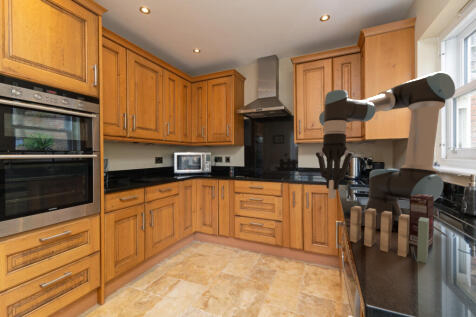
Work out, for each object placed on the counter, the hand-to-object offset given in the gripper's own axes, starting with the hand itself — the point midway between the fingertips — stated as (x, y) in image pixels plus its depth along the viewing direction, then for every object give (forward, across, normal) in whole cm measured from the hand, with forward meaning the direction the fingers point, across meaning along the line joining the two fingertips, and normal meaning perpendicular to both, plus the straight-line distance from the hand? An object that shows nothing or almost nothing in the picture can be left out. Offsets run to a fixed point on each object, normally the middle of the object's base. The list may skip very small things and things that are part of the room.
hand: (331, 197), depth 73 cm
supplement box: (+13, -23, -16) cm, 31 cm away
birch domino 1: (+13, -8, 0) cm, 15 cm away
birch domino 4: (+13, -21, 0) cm, 24 cm away
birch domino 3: (+13, -16, 0) cm, 21 cm away
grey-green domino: (+13, -25, 0) cm, 28 cm away
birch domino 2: (+13, -12, 0) cm, 18 cm away
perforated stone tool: (+13, -8, -20) cm, 25 cm away
